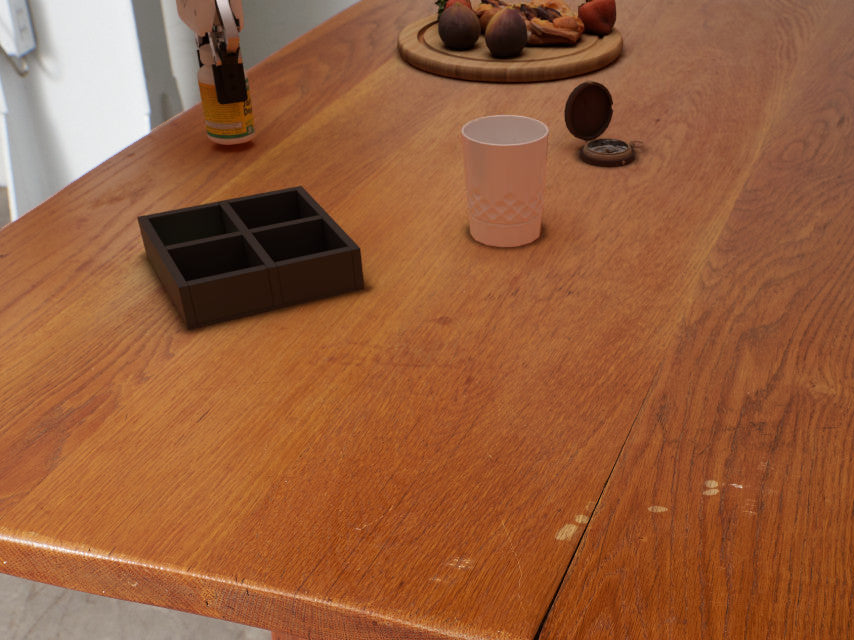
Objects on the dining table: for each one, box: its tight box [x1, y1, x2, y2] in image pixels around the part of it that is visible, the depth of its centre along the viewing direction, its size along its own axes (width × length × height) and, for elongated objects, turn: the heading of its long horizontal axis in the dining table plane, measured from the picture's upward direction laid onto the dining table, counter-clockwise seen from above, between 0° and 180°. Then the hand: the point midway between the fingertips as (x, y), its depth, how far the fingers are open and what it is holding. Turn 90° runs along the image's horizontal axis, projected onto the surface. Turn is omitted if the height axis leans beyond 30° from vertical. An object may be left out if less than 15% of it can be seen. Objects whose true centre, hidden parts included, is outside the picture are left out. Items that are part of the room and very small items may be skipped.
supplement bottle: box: [196, 43, 256, 145], centre depth 111 cm, size 5×5×10 cm
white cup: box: [460, 114, 550, 248], centre depth 94 cm, size 8×8×10 cm
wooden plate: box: [396, 0, 624, 83], centre depth 142 cm, size 32×32×8 cm
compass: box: [563, 80, 646, 168], centre depth 111 cm, size 8×8×7 cm
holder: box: [136, 185, 365, 331], centre depth 89 cm, size 15×15×4 cm
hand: (225, 92), depth 111 cm, fingers closed on supplement bottle, 5 cm apart
